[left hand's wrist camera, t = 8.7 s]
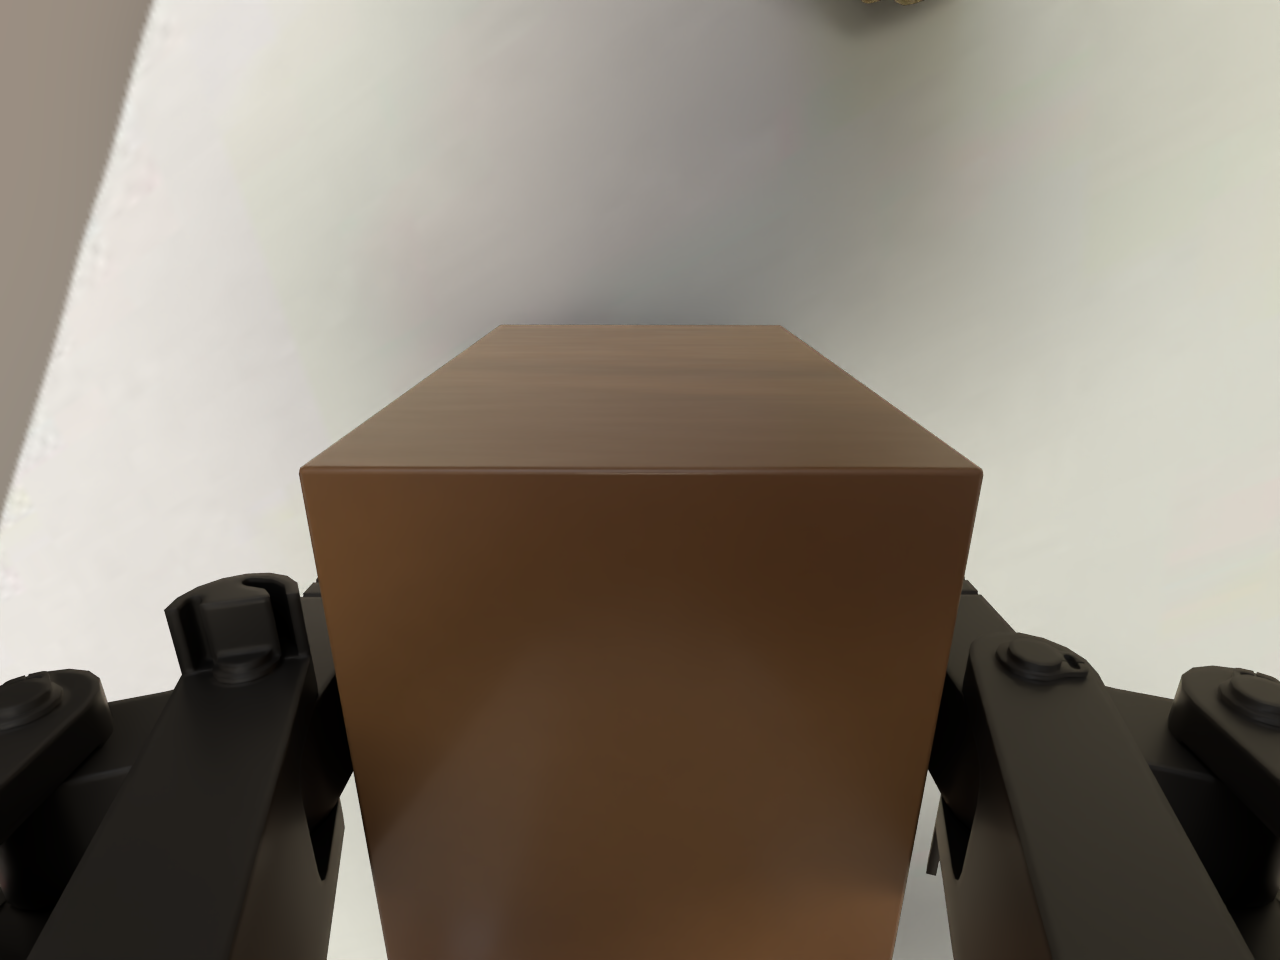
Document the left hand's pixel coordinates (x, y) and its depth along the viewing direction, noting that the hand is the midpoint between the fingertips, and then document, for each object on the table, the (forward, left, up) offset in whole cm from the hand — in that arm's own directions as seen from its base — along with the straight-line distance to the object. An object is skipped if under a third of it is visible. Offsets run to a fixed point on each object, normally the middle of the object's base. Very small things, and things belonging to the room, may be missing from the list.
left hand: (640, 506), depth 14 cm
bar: (+6, +4, -1) cm, 7 cm away
